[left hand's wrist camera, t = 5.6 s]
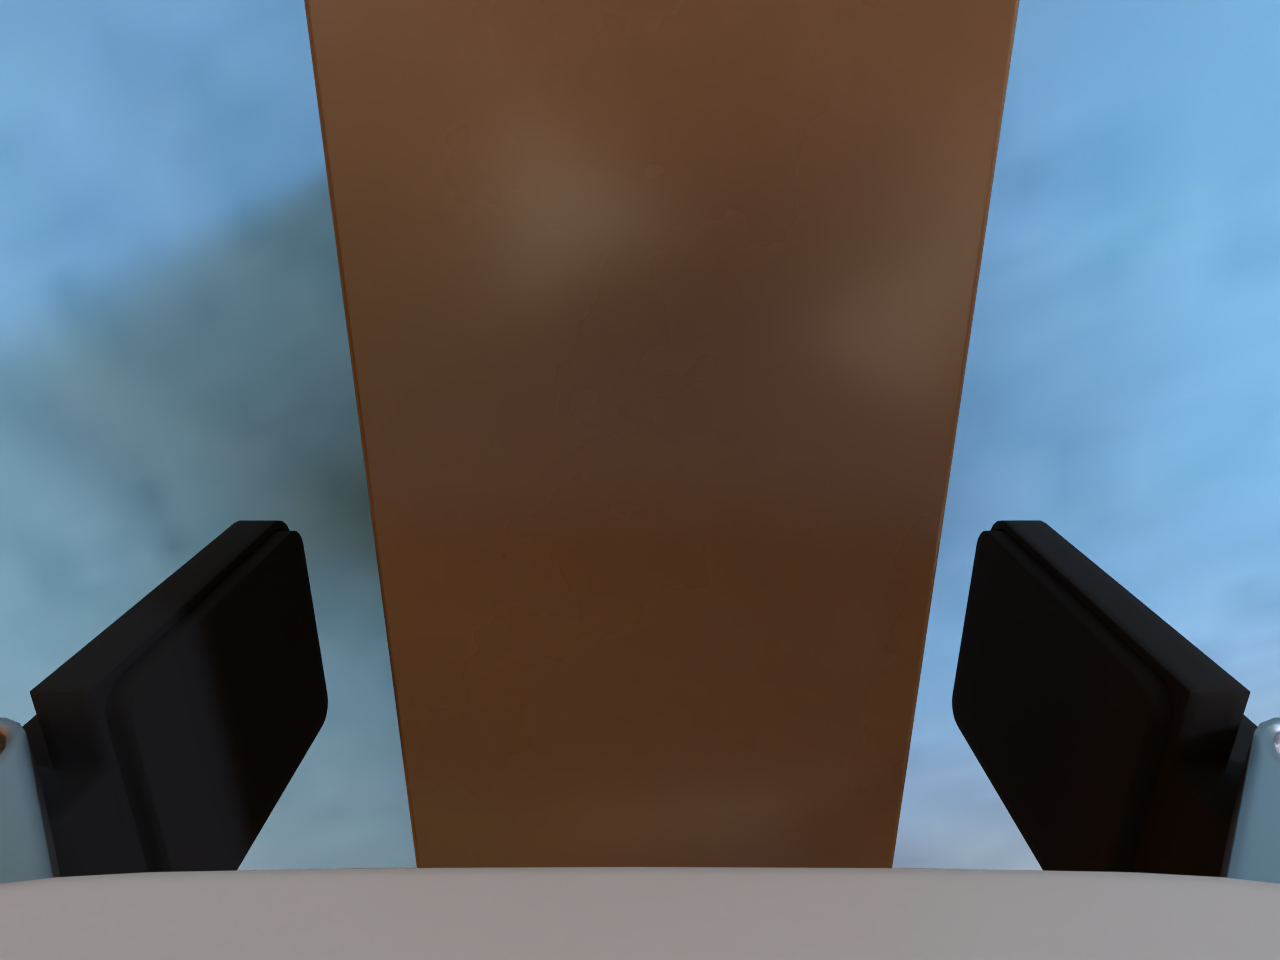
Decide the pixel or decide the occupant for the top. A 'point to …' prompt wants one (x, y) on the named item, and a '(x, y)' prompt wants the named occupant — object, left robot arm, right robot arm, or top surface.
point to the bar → (658, 404)
